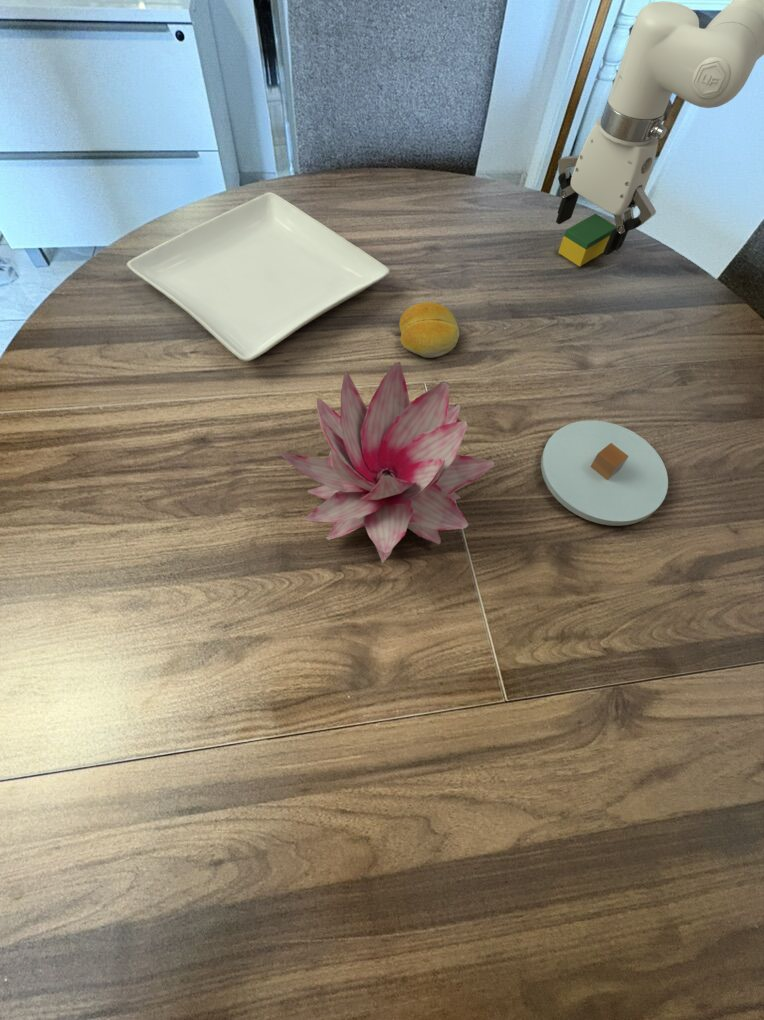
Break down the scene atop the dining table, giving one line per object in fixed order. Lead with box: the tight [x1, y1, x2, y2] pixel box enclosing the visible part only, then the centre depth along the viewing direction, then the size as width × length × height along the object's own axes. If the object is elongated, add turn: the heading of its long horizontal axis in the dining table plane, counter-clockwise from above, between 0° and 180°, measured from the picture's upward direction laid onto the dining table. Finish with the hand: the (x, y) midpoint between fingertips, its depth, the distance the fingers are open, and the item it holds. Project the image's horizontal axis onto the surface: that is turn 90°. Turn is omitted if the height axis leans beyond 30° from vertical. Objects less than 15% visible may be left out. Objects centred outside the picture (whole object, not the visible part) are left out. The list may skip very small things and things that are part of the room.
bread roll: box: [398, 301, 460, 359], centre depth 85 cm, size 8×9×4 cm
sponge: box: [557, 213, 617, 267], centre depth 98 cm, size 8×4×4 cm, turn 131°
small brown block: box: [590, 443, 629, 480], centre depth 72 cm, size 3×3×3 cm
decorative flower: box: [279, 361, 495, 564], centre depth 65 cm, size 21×21×15 cm
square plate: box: [125, 191, 391, 362], centre depth 89 cm, size 27×27×4 cm
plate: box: [540, 419, 669, 527], centre depth 74 cm, size 15×15×2 cm
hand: (586, 235), depth 97 cm, fingers open, 9 cm apart
